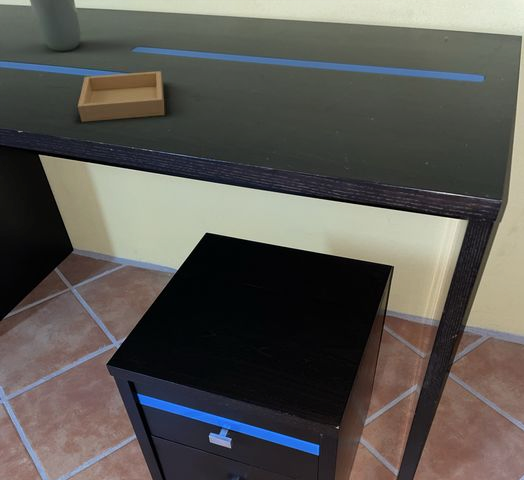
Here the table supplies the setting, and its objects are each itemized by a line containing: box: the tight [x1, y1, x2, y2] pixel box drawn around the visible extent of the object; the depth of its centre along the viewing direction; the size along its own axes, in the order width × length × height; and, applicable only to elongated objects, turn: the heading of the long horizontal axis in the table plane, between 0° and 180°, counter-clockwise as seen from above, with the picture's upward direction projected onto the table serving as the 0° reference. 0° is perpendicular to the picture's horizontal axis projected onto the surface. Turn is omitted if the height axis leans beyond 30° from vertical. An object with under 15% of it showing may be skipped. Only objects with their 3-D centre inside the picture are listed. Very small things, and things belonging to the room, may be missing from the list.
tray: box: [77, 71, 166, 122], centre depth 84 cm, size 13×13×3 cm
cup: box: [29, 0, 82, 52], centre depth 102 cm, size 8×8×10 cm
